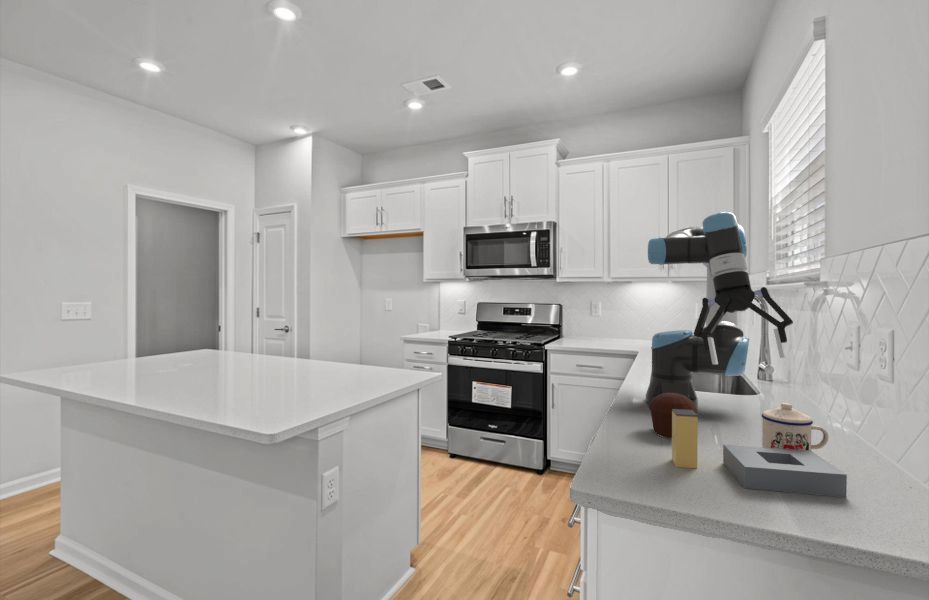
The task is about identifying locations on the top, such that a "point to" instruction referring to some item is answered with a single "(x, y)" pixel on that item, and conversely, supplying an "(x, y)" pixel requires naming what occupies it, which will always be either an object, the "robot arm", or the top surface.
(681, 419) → the plug
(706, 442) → the top surface
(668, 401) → the muffin
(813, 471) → the socket plate
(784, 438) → the teacup with lid
